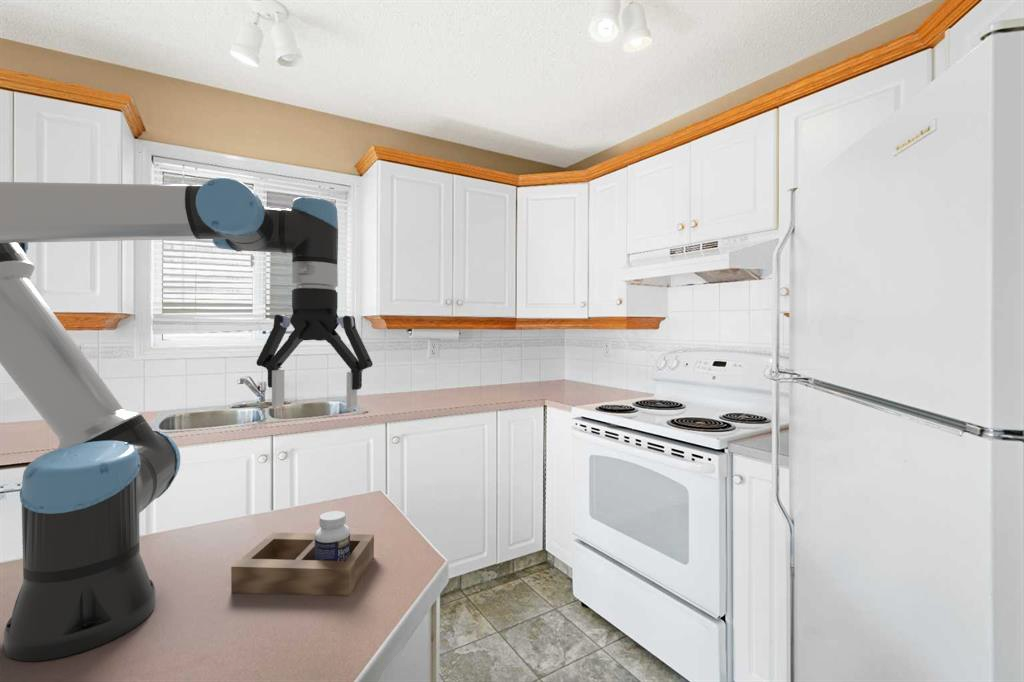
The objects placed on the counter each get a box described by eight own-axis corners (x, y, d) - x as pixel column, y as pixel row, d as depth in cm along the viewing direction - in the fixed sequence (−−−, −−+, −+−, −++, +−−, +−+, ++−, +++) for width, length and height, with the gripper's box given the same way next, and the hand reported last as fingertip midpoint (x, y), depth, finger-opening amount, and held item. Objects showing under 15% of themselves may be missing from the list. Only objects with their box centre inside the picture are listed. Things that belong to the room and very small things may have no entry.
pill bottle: (342, 583, 75) (342, 522, 75) (308, 582, 75) (308, 521, 75) (354, 566, 80) (354, 509, 80) (322, 565, 80) (323, 508, 80)
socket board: (231, 592, 72) (231, 566, 72) (272, 554, 84) (272, 532, 84) (349, 595, 72) (349, 569, 72) (373, 557, 84) (373, 534, 84)
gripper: (234, 285, 82) (234, 408, 82) (376, 287, 80) (375, 412, 81) (260, 289, 89) (260, 401, 90) (390, 290, 87) (389, 405, 88)
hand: (314, 407), depth 85 cm, fingers open, 13 cm apart
